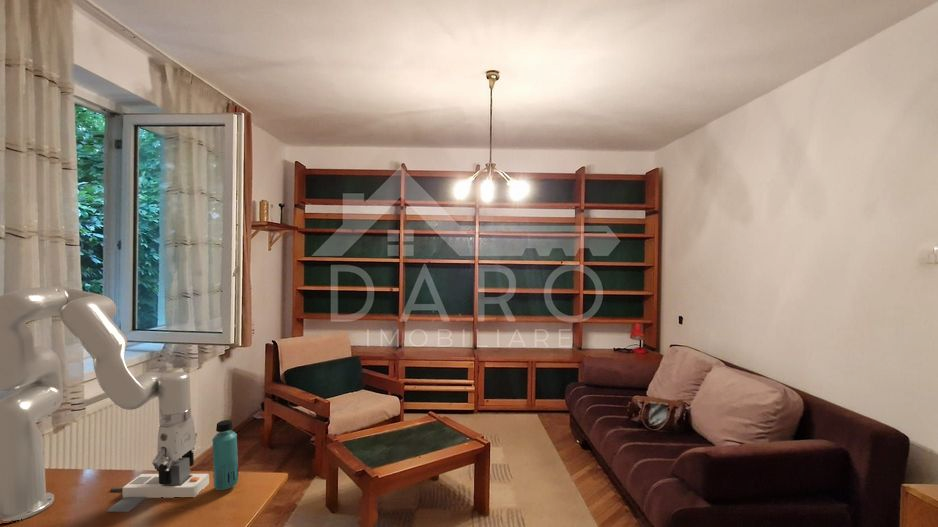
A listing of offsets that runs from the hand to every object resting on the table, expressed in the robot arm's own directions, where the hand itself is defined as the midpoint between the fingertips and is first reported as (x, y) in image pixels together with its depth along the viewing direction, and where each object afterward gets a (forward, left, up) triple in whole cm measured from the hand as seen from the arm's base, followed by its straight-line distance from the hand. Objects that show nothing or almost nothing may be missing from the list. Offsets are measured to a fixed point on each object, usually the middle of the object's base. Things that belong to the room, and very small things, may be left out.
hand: (177, 474), depth 122 cm
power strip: (-5, -3, -5) cm, 8 cm away
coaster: (-5, -11, -5) cm, 12 cm away
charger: (0, 0, -3) cm, 3 cm away
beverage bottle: (+11, +7, -5) cm, 15 cm away
